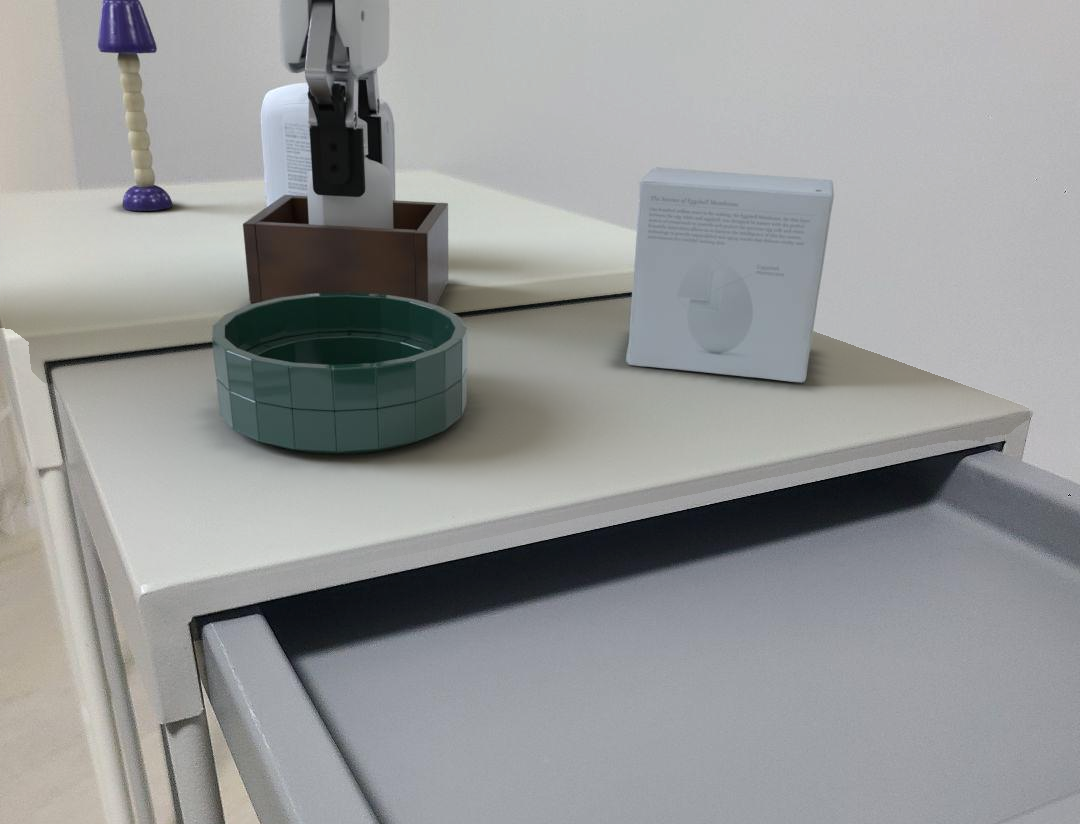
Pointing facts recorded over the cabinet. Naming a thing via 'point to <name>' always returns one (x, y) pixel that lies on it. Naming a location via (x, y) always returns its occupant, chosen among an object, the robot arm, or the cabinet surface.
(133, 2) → the toy lamp
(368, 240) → the holder
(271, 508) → the cabinet surface
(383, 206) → the eye dropper bottle
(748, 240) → the cosmetics box
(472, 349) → the cabinet surface
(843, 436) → the cabinet surface
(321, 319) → the bowl
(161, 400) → the cabinet surface
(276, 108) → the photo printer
